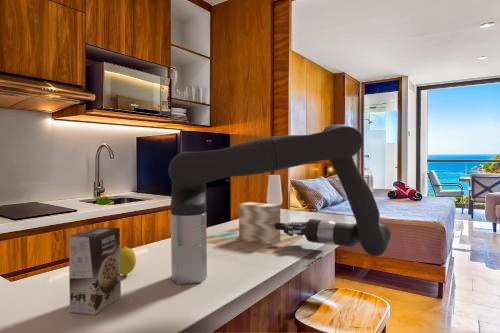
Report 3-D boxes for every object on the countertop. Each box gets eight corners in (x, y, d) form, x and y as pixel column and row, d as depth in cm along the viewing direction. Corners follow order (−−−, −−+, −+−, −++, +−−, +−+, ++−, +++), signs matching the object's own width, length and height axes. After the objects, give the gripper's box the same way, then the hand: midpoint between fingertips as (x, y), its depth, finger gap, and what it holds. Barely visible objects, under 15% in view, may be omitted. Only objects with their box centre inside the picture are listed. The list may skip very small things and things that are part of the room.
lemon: (123, 281, 86) (122, 250, 85) (109, 277, 88) (109, 247, 88) (140, 274, 90) (140, 245, 90) (127, 270, 93) (126, 242, 93)
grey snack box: (96, 315, 67) (94, 236, 66) (68, 312, 68) (66, 235, 68) (122, 296, 76) (121, 227, 75) (97, 294, 77) (96, 226, 77)
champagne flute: (274, 234, 135) (274, 175, 134) (263, 231, 140) (263, 175, 139) (285, 232, 139) (285, 175, 139) (274, 229, 144) (274, 174, 144)
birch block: (280, 240, 119) (280, 204, 119) (271, 244, 114) (271, 207, 114) (248, 235, 127) (248, 202, 127) (239, 239, 122) (238, 203, 122)
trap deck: (306, 241, 124) (306, 237, 124) (271, 259, 103) (271, 254, 103) (237, 230, 142) (237, 227, 142) (195, 244, 121) (195, 240, 121)
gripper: (330, 217, 112) (285, 212, 122) (314, 223, 101) (266, 218, 111) (330, 239, 112) (285, 232, 122) (314, 248, 101) (266, 240, 111)
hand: (276, 225), depth 116 cm, fingers closed
